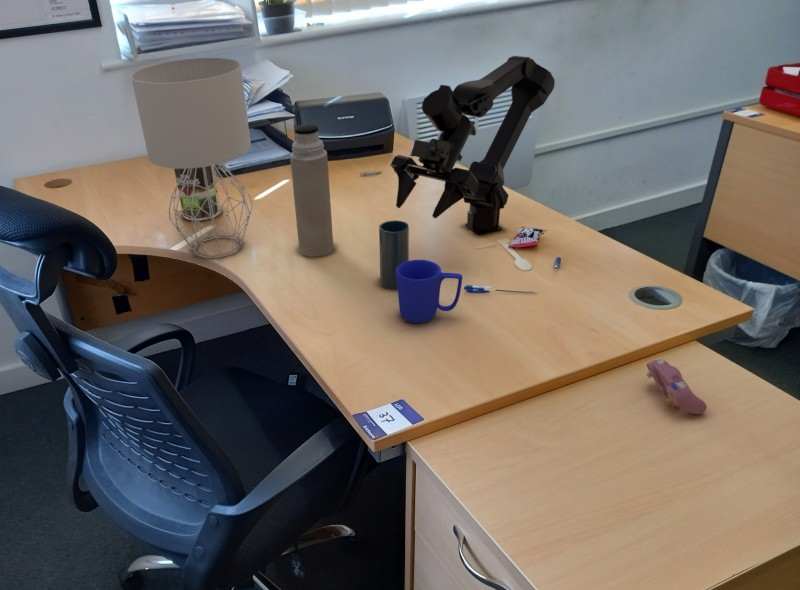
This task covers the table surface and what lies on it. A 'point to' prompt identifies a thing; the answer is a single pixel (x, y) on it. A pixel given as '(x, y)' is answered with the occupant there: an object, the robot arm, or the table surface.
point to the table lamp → (195, 125)
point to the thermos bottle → (311, 192)
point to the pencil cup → (392, 250)
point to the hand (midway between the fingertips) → (415, 212)
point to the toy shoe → (675, 387)
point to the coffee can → (198, 192)
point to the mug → (422, 290)
